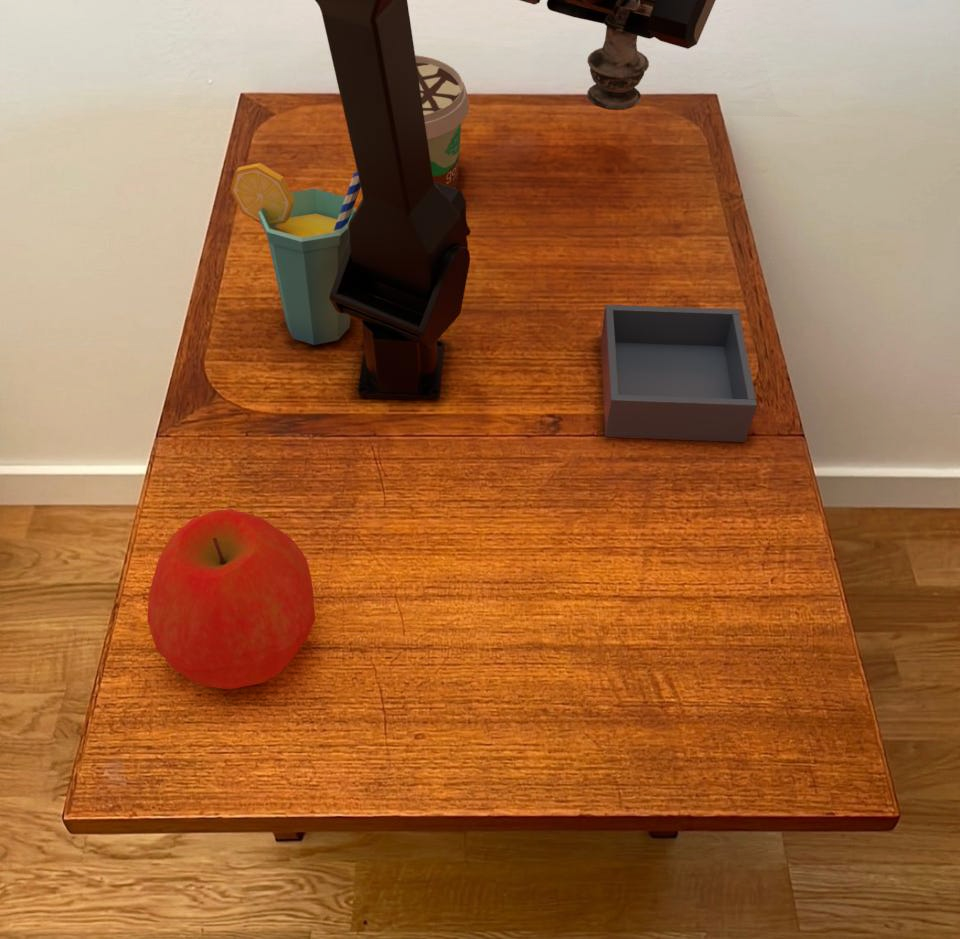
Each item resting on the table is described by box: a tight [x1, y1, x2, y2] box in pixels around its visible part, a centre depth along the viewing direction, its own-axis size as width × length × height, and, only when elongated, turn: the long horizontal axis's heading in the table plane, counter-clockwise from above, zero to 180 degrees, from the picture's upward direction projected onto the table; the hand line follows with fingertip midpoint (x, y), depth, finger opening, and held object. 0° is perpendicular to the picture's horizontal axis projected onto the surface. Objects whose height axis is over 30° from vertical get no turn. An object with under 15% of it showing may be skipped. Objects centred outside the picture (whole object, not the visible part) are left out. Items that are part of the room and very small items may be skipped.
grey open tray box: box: [599, 304, 758, 443], centre depth 78 cm, size 11×11×4 cm
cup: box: [229, 162, 361, 346], centre depth 79 cm, size 14×8×15 cm, turn 89°
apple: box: [147, 508, 316, 690], centre depth 61 cm, size 10×10×10 cm
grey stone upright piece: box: [586, 7, 650, 111], centre depth 93 cm, size 6×6×12 cm
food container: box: [415, 54, 470, 189], centre depth 94 cm, size 12×6×10 cm, turn 179°
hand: (628, 24), depth 93 cm, fingers closed on grey stone upright piece, 3 cm apart
